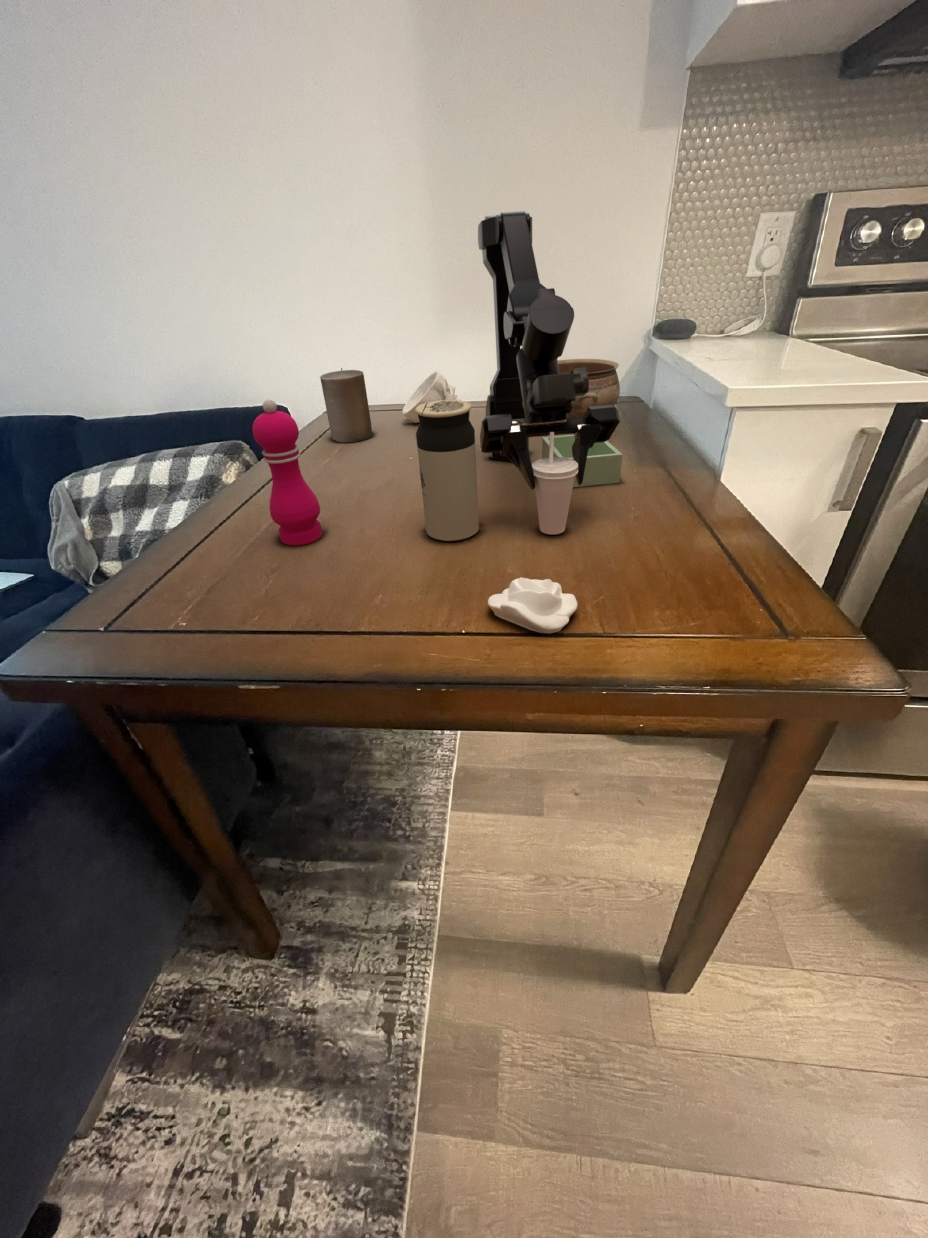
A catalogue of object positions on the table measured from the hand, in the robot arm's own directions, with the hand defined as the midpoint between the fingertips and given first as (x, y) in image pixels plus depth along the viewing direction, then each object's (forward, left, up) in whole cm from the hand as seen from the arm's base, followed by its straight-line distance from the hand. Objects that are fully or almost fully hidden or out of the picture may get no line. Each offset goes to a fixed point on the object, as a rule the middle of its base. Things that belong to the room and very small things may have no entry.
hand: (556, 485), depth 74 cm
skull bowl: (-50, +51, -8) cm, 72 cm away
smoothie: (-1, +1, -7) cm, 7 cm away
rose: (+4, -20, -8) cm, 22 cm away
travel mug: (-15, -4, -8) cm, 17 cm away
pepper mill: (-36, -14, -8) cm, 39 cm away
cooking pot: (-16, +58, -8) cm, 61 cm away
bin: (-5, +26, -7) cm, 27 cm away
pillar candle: (-62, +33, -8) cm, 70 cm away
